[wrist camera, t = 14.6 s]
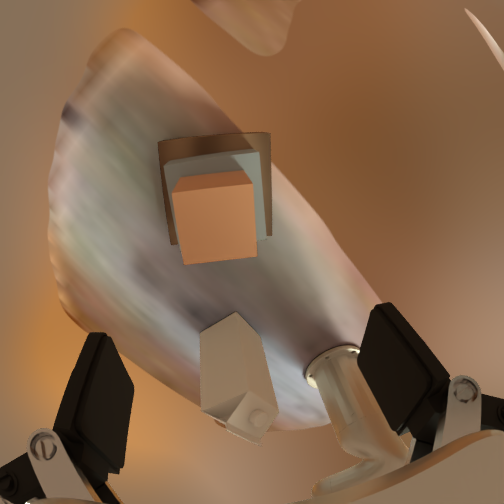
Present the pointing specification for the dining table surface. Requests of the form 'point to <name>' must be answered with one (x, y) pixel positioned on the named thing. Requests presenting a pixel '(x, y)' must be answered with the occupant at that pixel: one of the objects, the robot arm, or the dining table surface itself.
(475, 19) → the dining table surface
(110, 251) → the dining table surface
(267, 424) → the milk carton
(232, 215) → the orange cube
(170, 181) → the grey square block
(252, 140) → the base block
